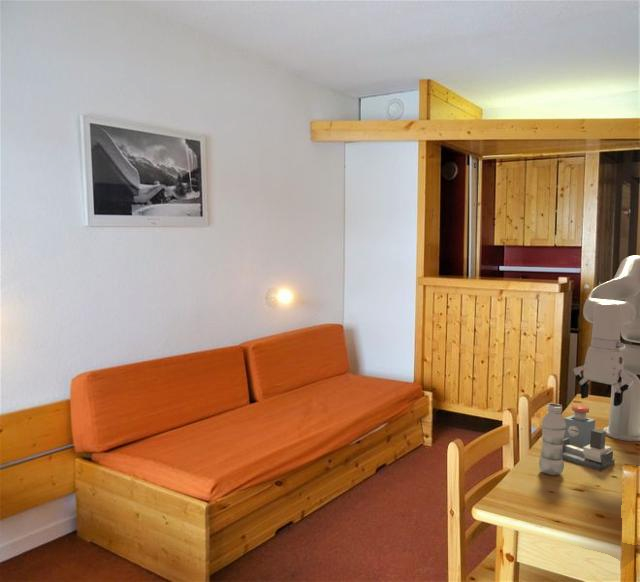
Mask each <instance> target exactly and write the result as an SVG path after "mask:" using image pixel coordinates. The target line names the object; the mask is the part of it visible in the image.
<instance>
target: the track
mask: <svg viewBox="0 0 640 582" xmlns="http://www.w3.org/2000/svg"><path fill="white" fill-rule="evenodd" d="M569 441H570V438H566V439H564V440H563V461H567V462H571V463H573V462H574V464H577V465H580V466H583V467H586V468H589V469H592V470H595V471H597V472H602V471H604V470H606V469H609V468H610V467H613V465H615V460H616V459H615V458H614V450H612V449H611V451H609V452H607V453H605V454H603V455H602V463H600V462H597V461H594V460H590V459H587V458H584V455H585V454H583V448H582V447H579V446H576V445H572V444H569Z"/></svg>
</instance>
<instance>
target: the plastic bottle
mask: <svg viewBox="0 0 640 582" xmlns="http://www.w3.org/2000/svg"><path fill="white" fill-rule="evenodd" d="M546 411H547V414H545V415H544V416H543V418H542V419H541V424H540V426H541V434H542V436H541V439H542V441H541V442H542V445H541V451H540V457H539V460H538V467H539V469H540V471H541V472H542V474H543V473H544V474H546V475H549V476H560V475H561V474H562V473H563V472H564V469H565V463H564V462H565V461H564V459H563V439H564V434H565V429H566V423H565V420H564V418H565V417H563V416H562V413H563V406H562V404H558V403H548V404H547V410H546Z"/></svg>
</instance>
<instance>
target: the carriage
mask: <svg viewBox="0 0 640 582" xmlns="http://www.w3.org/2000/svg"><path fill="white" fill-rule="evenodd" d="M606 436H607V435H606V431H604V430H602V429H601V428H600V429H599V428H595V429H593V430H591V440H590V444H589V445H587V446H585V447H583V448H582V449H583V454H585V455H584V458H587V459H590V460H594V461H597V462H600V463H602V455H603V454H605V453H607V452H609V451H611V450H612V446H608V445H606Z"/></svg>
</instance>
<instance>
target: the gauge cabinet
mask: <svg viewBox="0 0 640 582" xmlns="http://www.w3.org/2000/svg"><path fill="white" fill-rule="evenodd" d="M563 418H564V420H565V423H566V429H565V434H564V439H566V438H570V441H569V445H572V444H573V445H572V446H575V447H578V448H581V449H583V447H585V446H587V445H589V444H590V440H591V430H593V429H596V428H595V427H596V419H594V418H590V417H587V416H586V421H584V422H582V421H578V420H574V414H571V415H569V416H566V417H563ZM564 439H563V440H564Z"/></svg>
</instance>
